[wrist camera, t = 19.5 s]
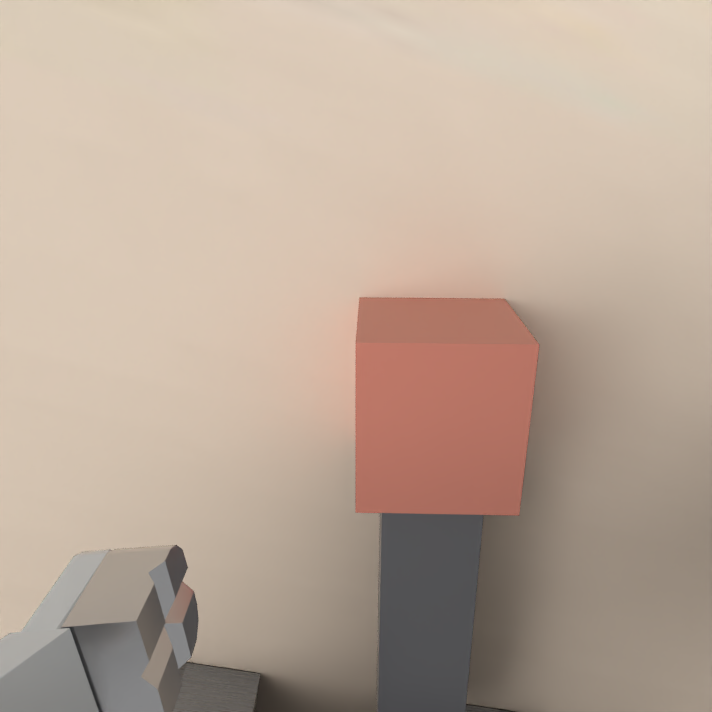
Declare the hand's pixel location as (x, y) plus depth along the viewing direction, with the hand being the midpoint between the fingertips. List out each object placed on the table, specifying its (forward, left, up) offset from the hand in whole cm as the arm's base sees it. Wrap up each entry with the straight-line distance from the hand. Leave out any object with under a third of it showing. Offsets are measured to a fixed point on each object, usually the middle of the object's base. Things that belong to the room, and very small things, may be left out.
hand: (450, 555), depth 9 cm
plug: (-7, -2, -11) cm, 13 cm away
